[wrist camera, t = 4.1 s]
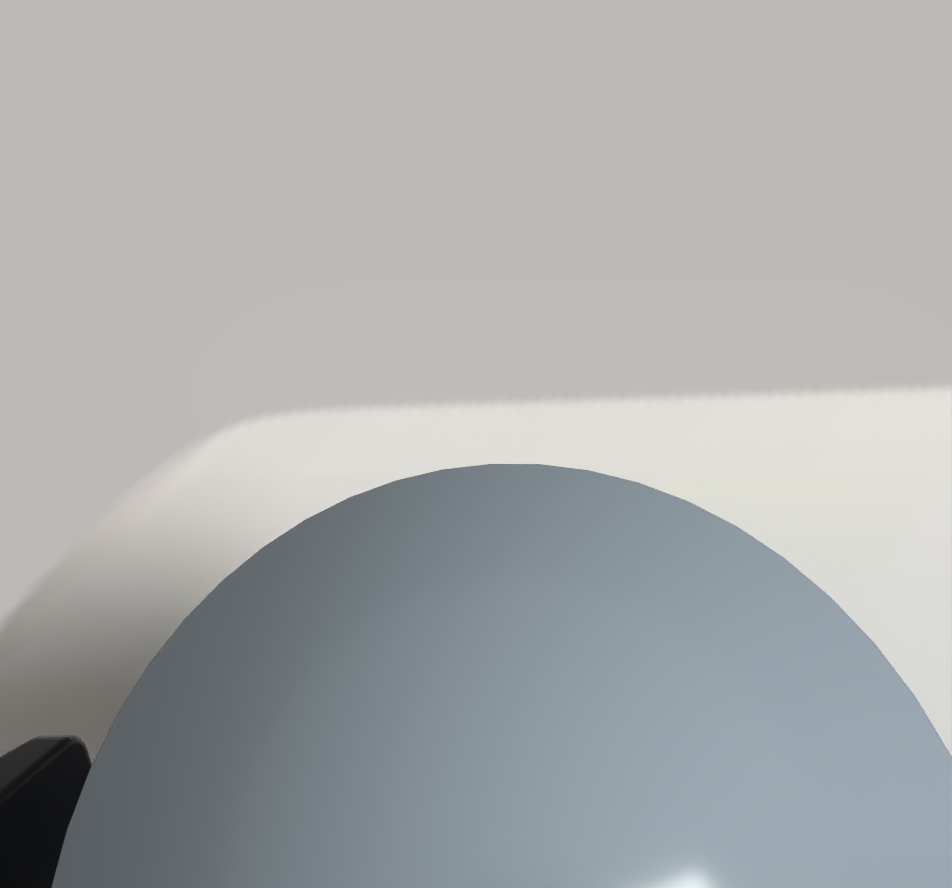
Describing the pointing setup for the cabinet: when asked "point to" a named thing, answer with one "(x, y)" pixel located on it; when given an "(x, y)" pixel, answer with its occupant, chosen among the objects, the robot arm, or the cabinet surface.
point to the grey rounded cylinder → (516, 710)
